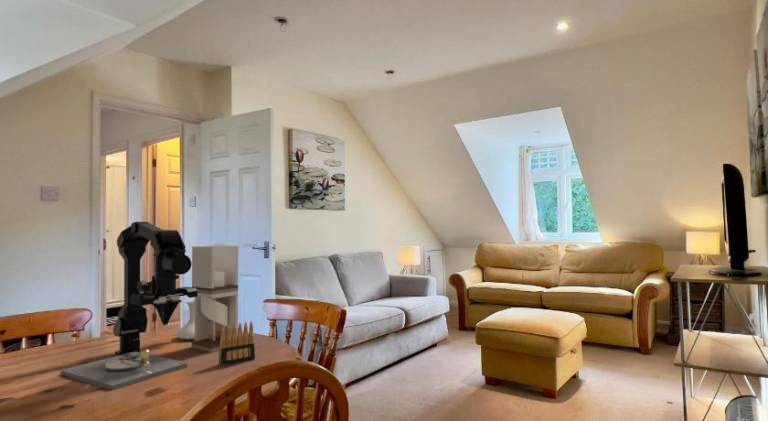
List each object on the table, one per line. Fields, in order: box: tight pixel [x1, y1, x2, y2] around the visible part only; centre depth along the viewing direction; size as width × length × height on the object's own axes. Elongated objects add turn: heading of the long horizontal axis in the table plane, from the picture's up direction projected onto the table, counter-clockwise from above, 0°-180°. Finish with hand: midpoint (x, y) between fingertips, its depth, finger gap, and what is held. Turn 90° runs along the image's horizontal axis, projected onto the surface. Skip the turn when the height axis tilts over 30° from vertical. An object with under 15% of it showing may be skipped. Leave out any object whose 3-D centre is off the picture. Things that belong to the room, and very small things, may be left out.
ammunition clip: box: [218, 320, 256, 366], centre depth 141 cm, size 11×2×12 cm, turn 127°
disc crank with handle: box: [105, 348, 150, 371], centre depth 132 cm, size 15×10×6 cm, turn 61°
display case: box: [191, 244, 239, 353], centre depth 160 cm, size 11×11×35 cm
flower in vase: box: [175, 299, 195, 340], centre depth 172 cm, size 13×11×25 cm
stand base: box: [60, 352, 188, 391], centre depth 133 cm, size 26×22×1 cm
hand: (164, 324), depth 135 cm, fingers closed
